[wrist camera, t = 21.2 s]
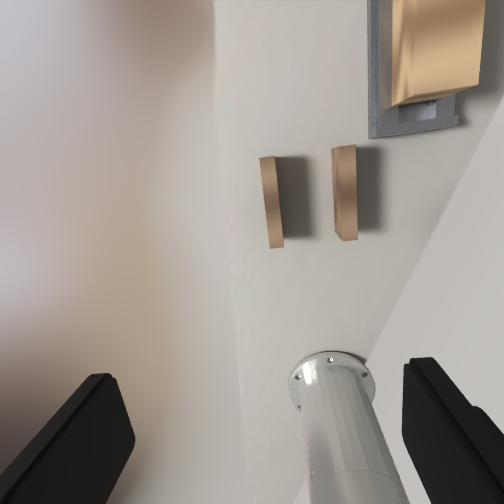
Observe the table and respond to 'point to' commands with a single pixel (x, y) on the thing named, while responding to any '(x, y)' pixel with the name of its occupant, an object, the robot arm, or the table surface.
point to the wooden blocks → (341, 191)
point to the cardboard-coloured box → (435, 48)
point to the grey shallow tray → (380, 85)
